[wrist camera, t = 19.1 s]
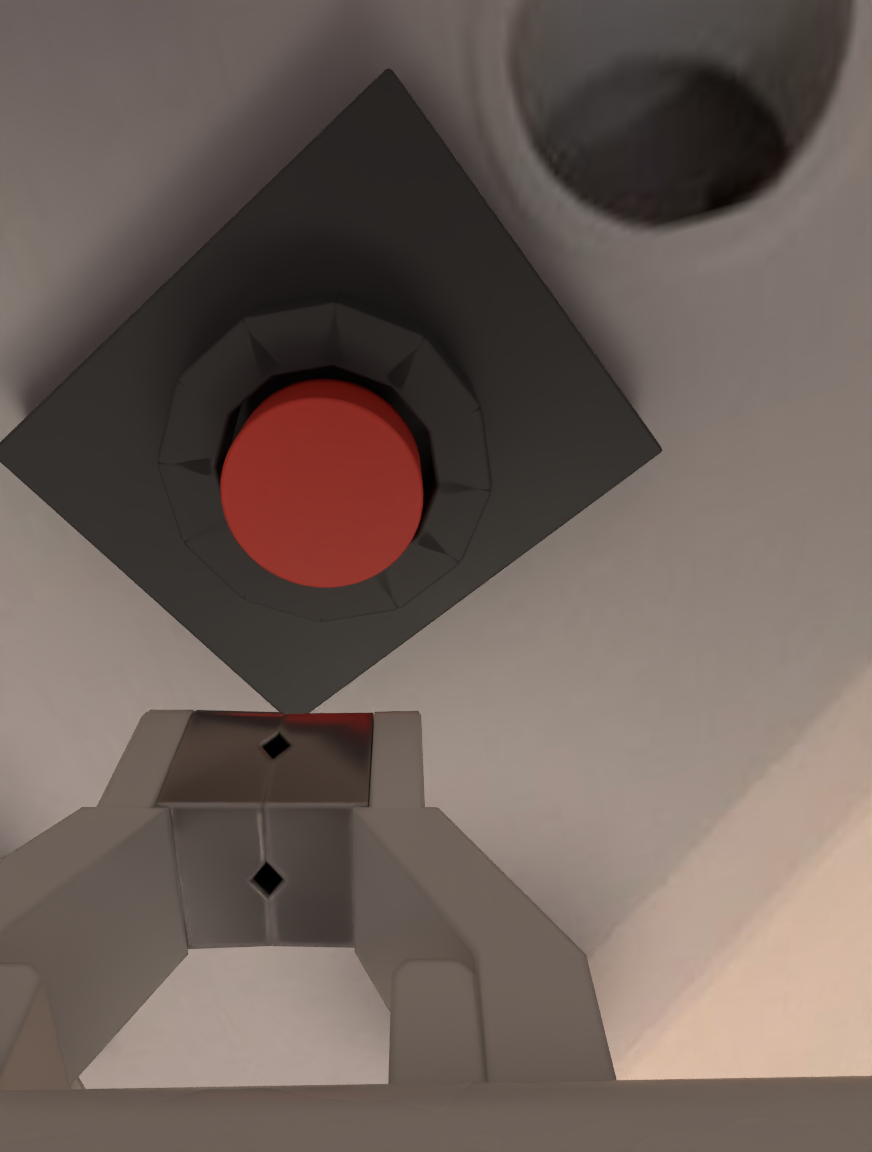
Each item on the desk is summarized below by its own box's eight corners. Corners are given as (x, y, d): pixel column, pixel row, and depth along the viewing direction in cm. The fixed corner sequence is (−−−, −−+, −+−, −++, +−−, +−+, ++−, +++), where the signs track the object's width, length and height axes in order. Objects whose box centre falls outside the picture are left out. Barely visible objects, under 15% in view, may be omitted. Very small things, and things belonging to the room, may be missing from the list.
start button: (335, 337, 16) (328, 352, 15) (458, 481, 18) (464, 509, 16) (195, 459, 17) (175, 486, 16) (323, 587, 19) (316, 623, 17)
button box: (389, 79, 18) (388, 51, 14) (639, 427, 21) (689, 475, 18) (27, 428, 20) (-51, 478, 17) (301, 681, 24) (285, 768, 20)
